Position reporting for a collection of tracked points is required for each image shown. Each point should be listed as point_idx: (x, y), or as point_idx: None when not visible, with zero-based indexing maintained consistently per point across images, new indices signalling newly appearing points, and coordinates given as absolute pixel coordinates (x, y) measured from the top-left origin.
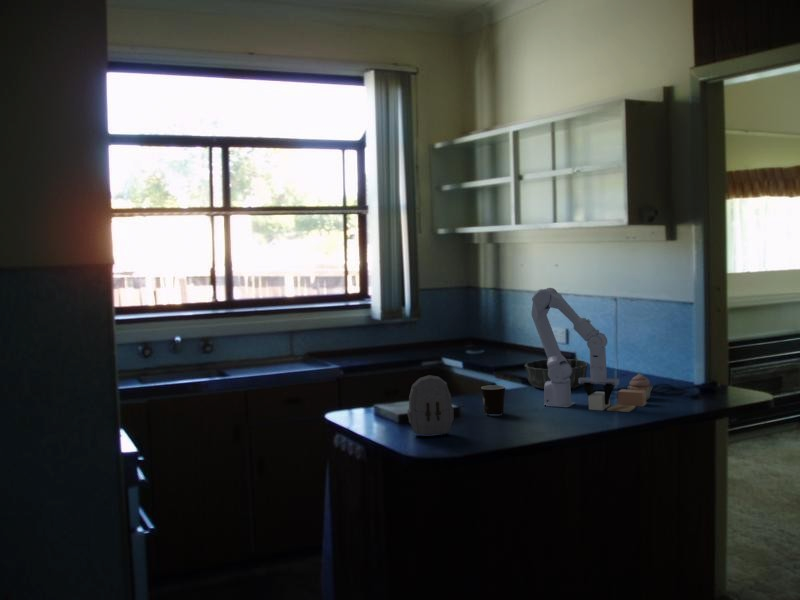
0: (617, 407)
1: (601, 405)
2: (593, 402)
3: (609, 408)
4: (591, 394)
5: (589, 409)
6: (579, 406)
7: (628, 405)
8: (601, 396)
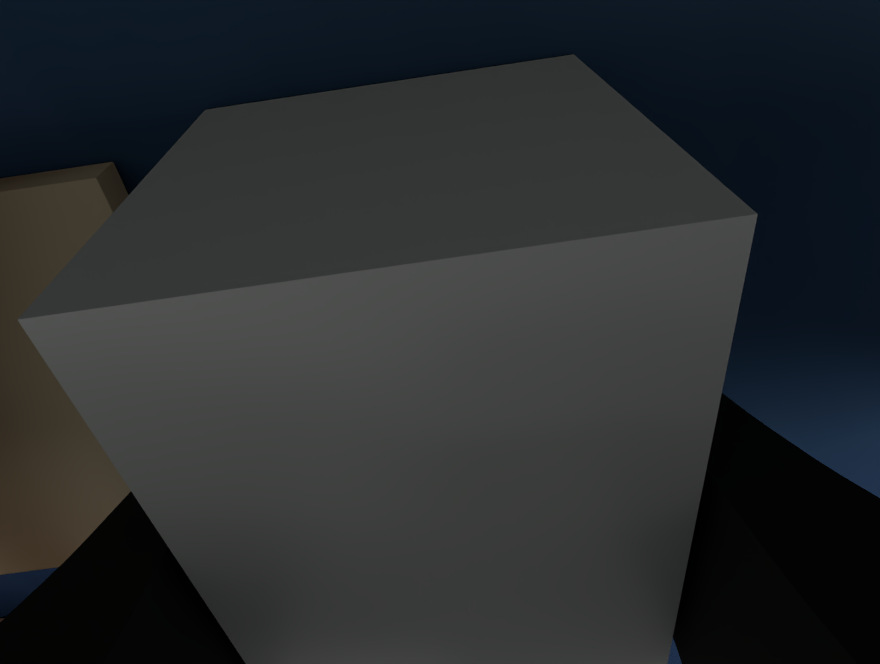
0: (24, 394)
1: (186, 149)
2: (455, 141)
3: (72, 237)
4: (678, 501)
5: (555, 59)
6: (855, 281)
7: (16, 571)
8: (79, 350)
